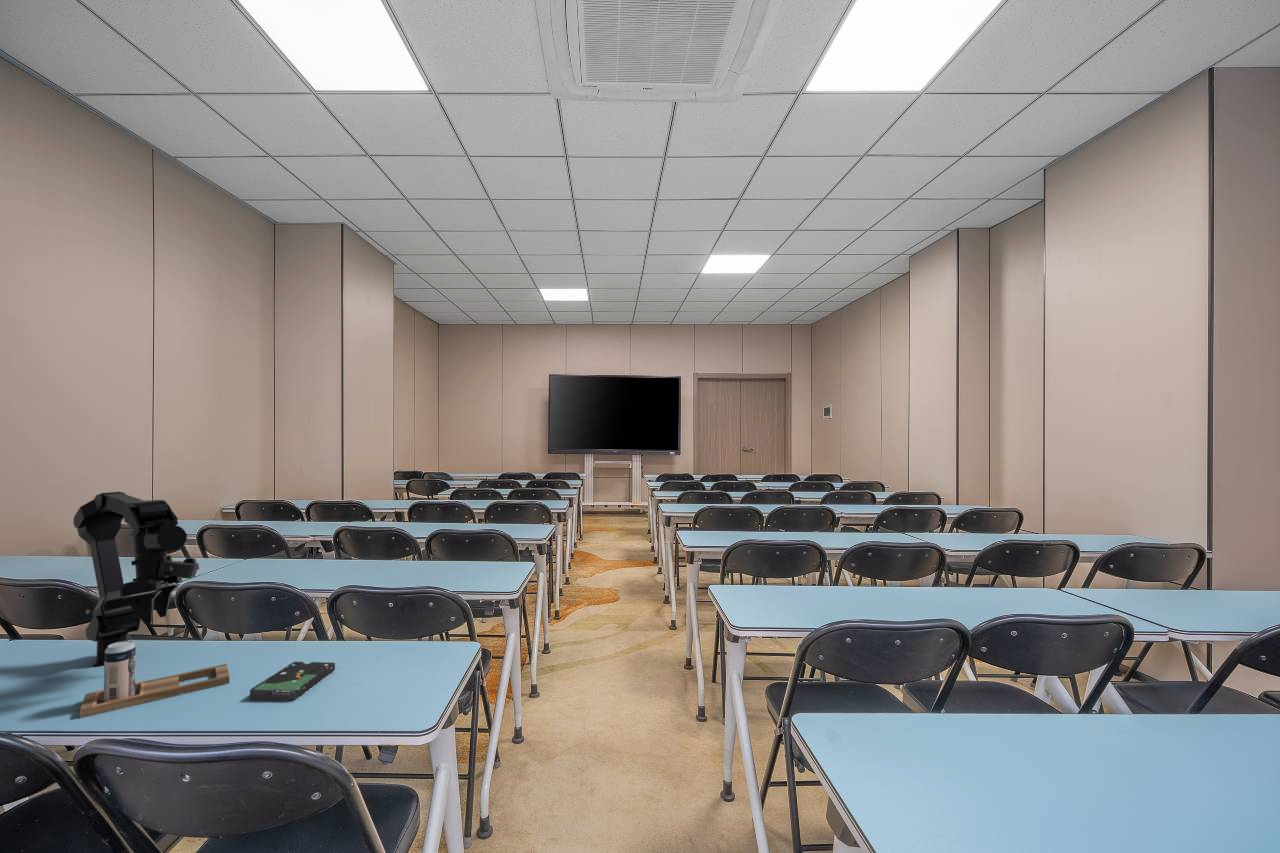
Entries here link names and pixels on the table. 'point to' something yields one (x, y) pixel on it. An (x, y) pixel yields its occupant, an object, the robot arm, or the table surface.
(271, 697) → the disk drive
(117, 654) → the white cylinder
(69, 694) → the table surface
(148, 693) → the wooden tray
